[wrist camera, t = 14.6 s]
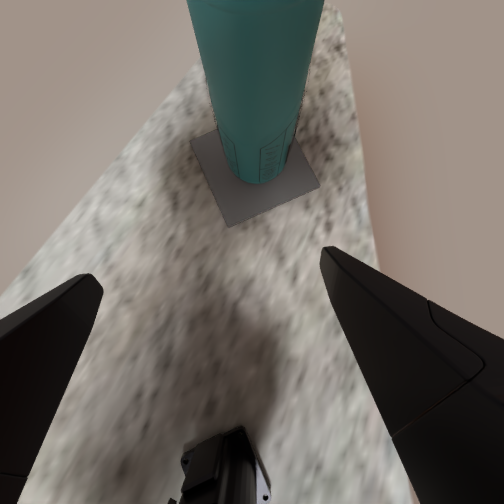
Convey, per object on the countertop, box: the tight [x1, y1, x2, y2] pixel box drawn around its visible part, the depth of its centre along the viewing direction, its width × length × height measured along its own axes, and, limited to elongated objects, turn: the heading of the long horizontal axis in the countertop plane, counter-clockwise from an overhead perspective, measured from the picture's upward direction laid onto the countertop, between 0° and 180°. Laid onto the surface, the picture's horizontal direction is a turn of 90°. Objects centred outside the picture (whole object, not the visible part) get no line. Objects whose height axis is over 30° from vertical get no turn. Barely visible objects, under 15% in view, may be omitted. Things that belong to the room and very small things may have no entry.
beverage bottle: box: [187, 0, 324, 184], centre depth 13 cm, size 6×7×20 cm
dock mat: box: [190, 130, 320, 228], centre depth 23 cm, size 11×11×1 cm
